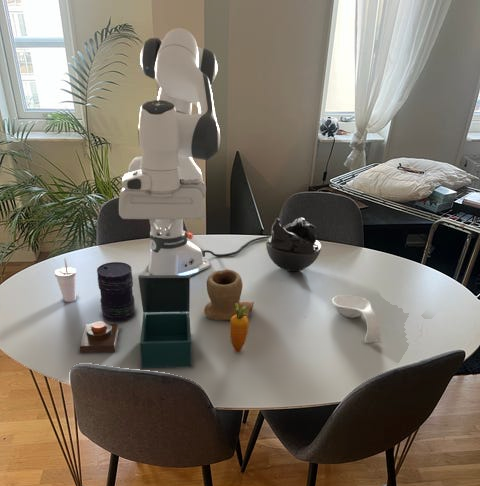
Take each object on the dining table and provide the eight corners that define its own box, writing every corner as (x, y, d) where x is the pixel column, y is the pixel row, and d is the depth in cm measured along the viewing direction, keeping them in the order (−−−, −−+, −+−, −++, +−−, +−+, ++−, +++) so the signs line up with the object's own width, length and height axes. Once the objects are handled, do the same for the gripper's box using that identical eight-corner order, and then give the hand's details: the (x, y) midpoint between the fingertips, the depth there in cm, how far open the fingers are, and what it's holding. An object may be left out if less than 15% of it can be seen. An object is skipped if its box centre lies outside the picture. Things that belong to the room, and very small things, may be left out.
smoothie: (74, 305, 145) (67, 264, 138) (55, 302, 146) (47, 261, 139) (84, 295, 150) (78, 255, 143) (65, 292, 151) (59, 253, 144)
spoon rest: (325, 304, 153) (328, 285, 150) (358, 302, 156) (362, 283, 152) (354, 345, 134) (359, 324, 130) (392, 342, 136) (397, 321, 132)
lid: (189, 277, 116) (189, 274, 117) (138, 277, 115) (138, 275, 115) (189, 312, 129) (189, 309, 130) (143, 312, 128) (143, 310, 128)
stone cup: (202, 325, 139) (202, 280, 131) (205, 305, 149) (206, 262, 141) (253, 328, 139) (256, 283, 131) (253, 308, 149) (256, 265, 141)
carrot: (228, 347, 130) (230, 300, 122) (245, 347, 130) (249, 300, 122) (229, 357, 126) (231, 309, 118) (247, 357, 126) (251, 309, 118)
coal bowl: (326, 266, 178) (333, 219, 169) (303, 285, 164) (309, 235, 154) (280, 253, 187) (284, 207, 177) (254, 270, 172) (257, 221, 163)
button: (105, 333, 126) (104, 328, 125) (91, 333, 126) (90, 328, 125) (106, 326, 129) (106, 320, 128) (93, 326, 129) (92, 321, 128)
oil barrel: (141, 309, 145) (138, 265, 137) (124, 325, 137) (120, 279, 129) (113, 303, 147) (108, 259, 139) (95, 318, 139) (89, 272, 131)
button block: (115, 352, 125) (113, 339, 123) (80, 353, 124) (78, 340, 122) (119, 329, 135) (118, 317, 133) (86, 330, 134) (85, 318, 131)
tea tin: (191, 366, 122) (190, 342, 117) (141, 368, 120) (139, 343, 116) (189, 335, 134) (189, 312, 130) (145, 336, 132) (143, 313, 128)
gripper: (205, 176, 112) (204, 230, 119) (117, 174, 109) (122, 230, 117) (206, 183, 107) (206, 240, 114) (114, 182, 104) (120, 240, 111)
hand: (163, 235), depth 115 cm, fingers closed
